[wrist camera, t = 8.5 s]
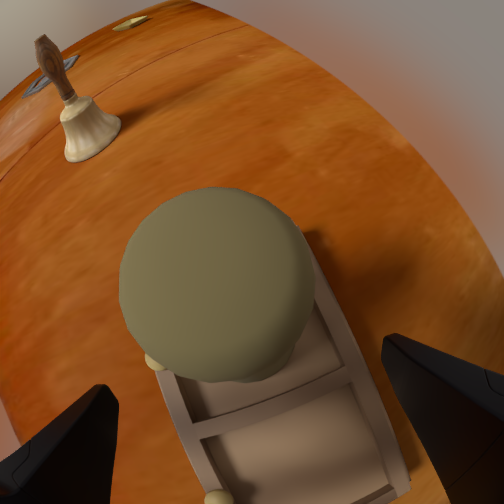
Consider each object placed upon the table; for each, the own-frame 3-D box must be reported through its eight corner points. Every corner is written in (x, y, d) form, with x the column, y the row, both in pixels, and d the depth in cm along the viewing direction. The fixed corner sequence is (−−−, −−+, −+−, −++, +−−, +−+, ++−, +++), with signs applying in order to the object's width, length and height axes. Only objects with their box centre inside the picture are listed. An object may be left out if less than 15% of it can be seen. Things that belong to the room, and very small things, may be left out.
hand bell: (133, 116, 28) (90, 7, 13) (93, 165, 25) (25, 50, 10) (92, 117, 29) (49, 29, 15) (55, 161, 26) (-5, 70, 12)
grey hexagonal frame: (82, 52, 50) (81, 49, 50) (66, 75, 42) (65, 73, 41) (38, 78, 49) (37, 76, 49) (16, 108, 41) (15, 106, 40)
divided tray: (403, 476, 11) (420, 486, 9) (241, 539, 10) (237, 557, 8) (296, 233, 19) (300, 214, 17) (140, 293, 18) (123, 281, 16)
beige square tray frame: (132, 23, 57) (130, 18, 56) (149, 20, 55) (148, 15, 54) (113, 33, 54) (111, 29, 52) (130, 30, 52) (129, 25, 50)
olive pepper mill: (276, 271, 17) (282, 130, 7) (311, 363, 14) (392, 341, 5) (184, 301, 17) (82, 198, 7) (211, 395, 14) (106, 427, 4)
